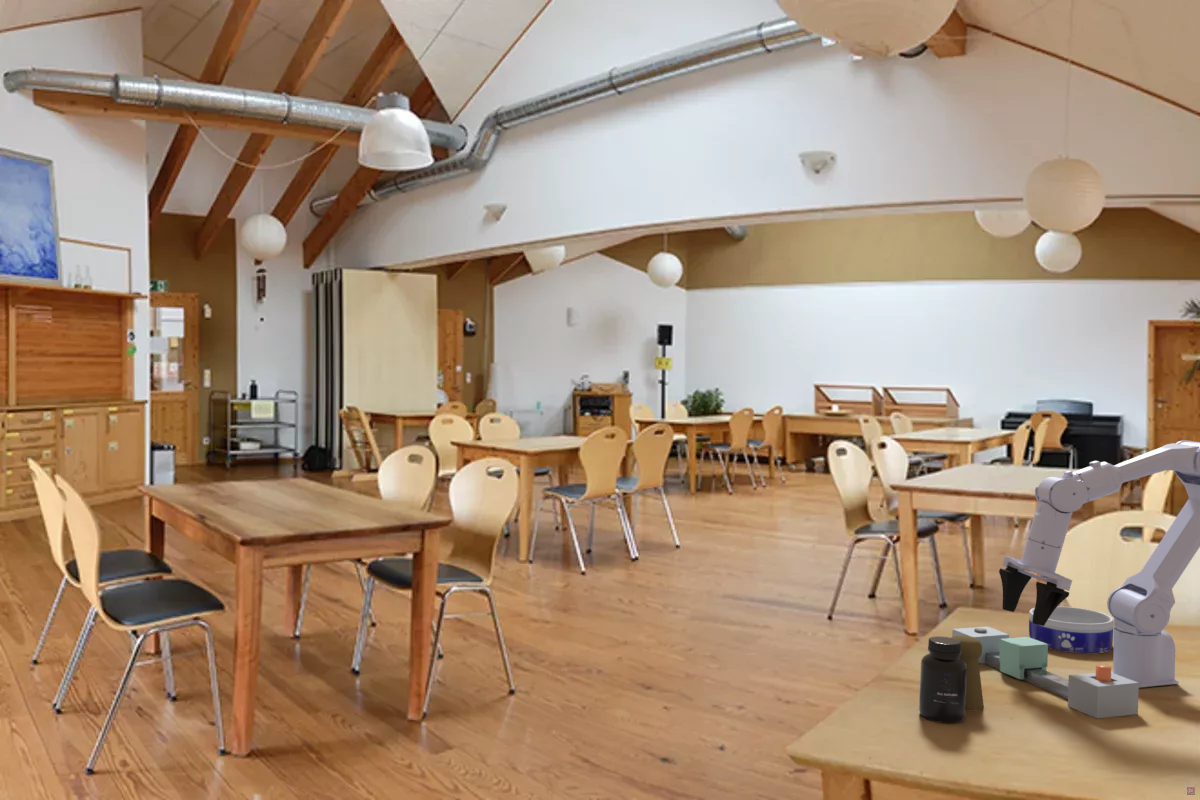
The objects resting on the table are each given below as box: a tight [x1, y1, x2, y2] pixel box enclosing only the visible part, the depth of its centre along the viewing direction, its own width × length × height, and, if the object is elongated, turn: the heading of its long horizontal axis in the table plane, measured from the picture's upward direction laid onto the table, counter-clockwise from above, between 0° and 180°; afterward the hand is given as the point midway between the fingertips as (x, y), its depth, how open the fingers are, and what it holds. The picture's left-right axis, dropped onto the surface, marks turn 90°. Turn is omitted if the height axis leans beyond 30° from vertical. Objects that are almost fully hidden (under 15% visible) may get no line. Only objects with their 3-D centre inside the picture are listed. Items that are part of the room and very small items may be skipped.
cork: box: [950, 635, 985, 712], centre depth 155 cm, size 6×6×11 cm
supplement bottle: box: [918, 636, 967, 724], centre depth 149 cm, size 7×7×12 cm
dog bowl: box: [1028, 605, 1114, 654], centre depth 193 cm, size 15×15×6 cm
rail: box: [985, 652, 1069, 700], centre depth 168 cm, size 3×22×2 cm, turn 17°
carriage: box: [999, 636, 1049, 680], centre depth 171 cm, size 6×5×6 cm
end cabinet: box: [1067, 672, 1140, 719], centre depth 153 cm, size 8×6×5 cm
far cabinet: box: [951, 625, 1010, 664], centre depth 182 cm, size 8×6×5 cm
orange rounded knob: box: [1095, 663, 1112, 682], centre depth 153 cm, size 2×2×4 cm
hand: (1022, 617), depth 169 cm, fingers open, 7 cm apart
